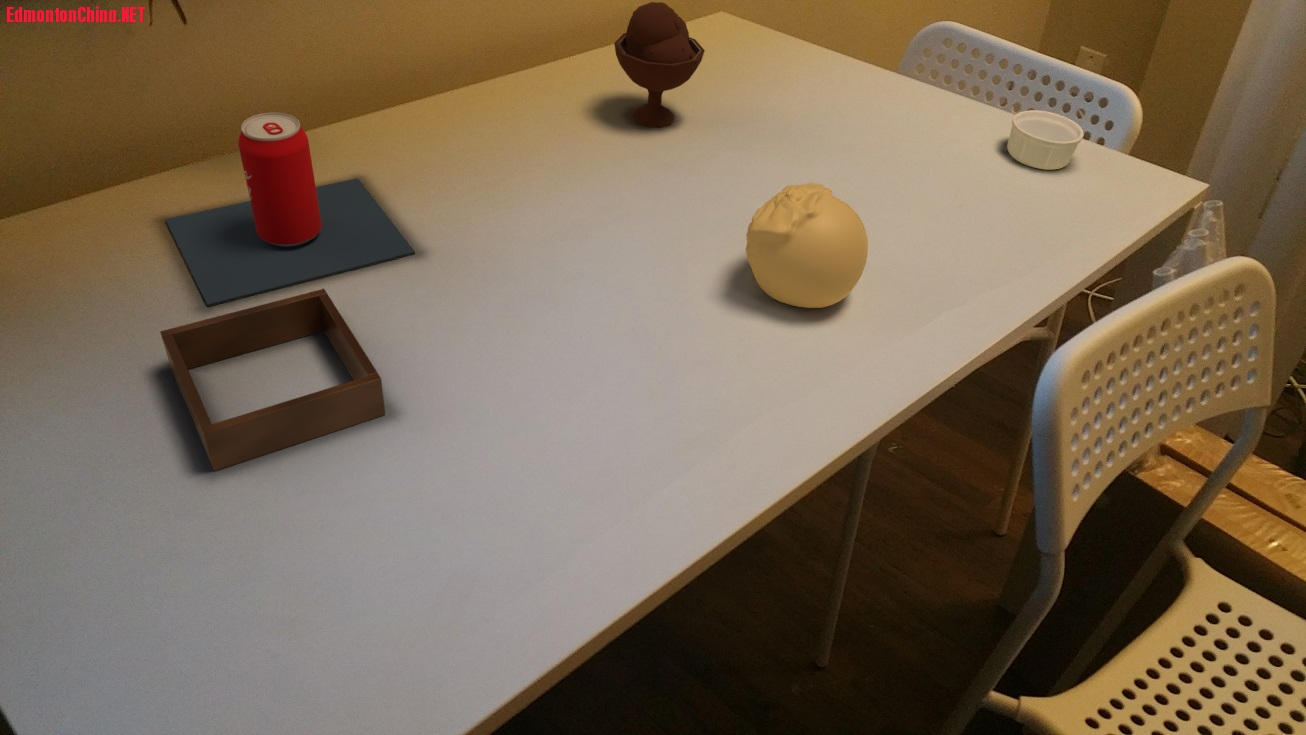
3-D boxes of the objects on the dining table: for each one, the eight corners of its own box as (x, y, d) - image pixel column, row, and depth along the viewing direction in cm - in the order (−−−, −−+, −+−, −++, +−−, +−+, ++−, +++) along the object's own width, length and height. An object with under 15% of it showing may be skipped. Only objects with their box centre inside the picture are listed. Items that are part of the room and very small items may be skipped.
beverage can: (306, 211, 103) (288, 104, 95) (333, 239, 99) (317, 130, 92) (247, 228, 99) (224, 119, 92) (273, 258, 96) (251, 146, 88)
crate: (214, 471, 75) (203, 433, 72) (170, 368, 83) (159, 331, 81) (385, 414, 81) (381, 378, 79) (329, 323, 90) (324, 288, 87)
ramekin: (1062, 180, 124) (1075, 149, 121) (994, 157, 127) (1004, 126, 124) (1078, 154, 130) (1091, 124, 127) (1013, 133, 133) (1023, 103, 130)
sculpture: (765, 243, 106) (782, 153, 99) (870, 280, 103) (896, 190, 96) (720, 294, 98) (735, 200, 91) (832, 337, 95) (857, 242, 88)
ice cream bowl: (697, 140, 123) (712, 22, 114) (608, 133, 123) (616, 13, 113) (694, 102, 131) (708, -11, 122) (611, 96, 131) (618, -19, 121)
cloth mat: (207, 306, 90) (207, 304, 90) (165, 221, 100) (165, 218, 99) (415, 254, 99) (415, 251, 99) (358, 180, 109) (358, 178, 109)
